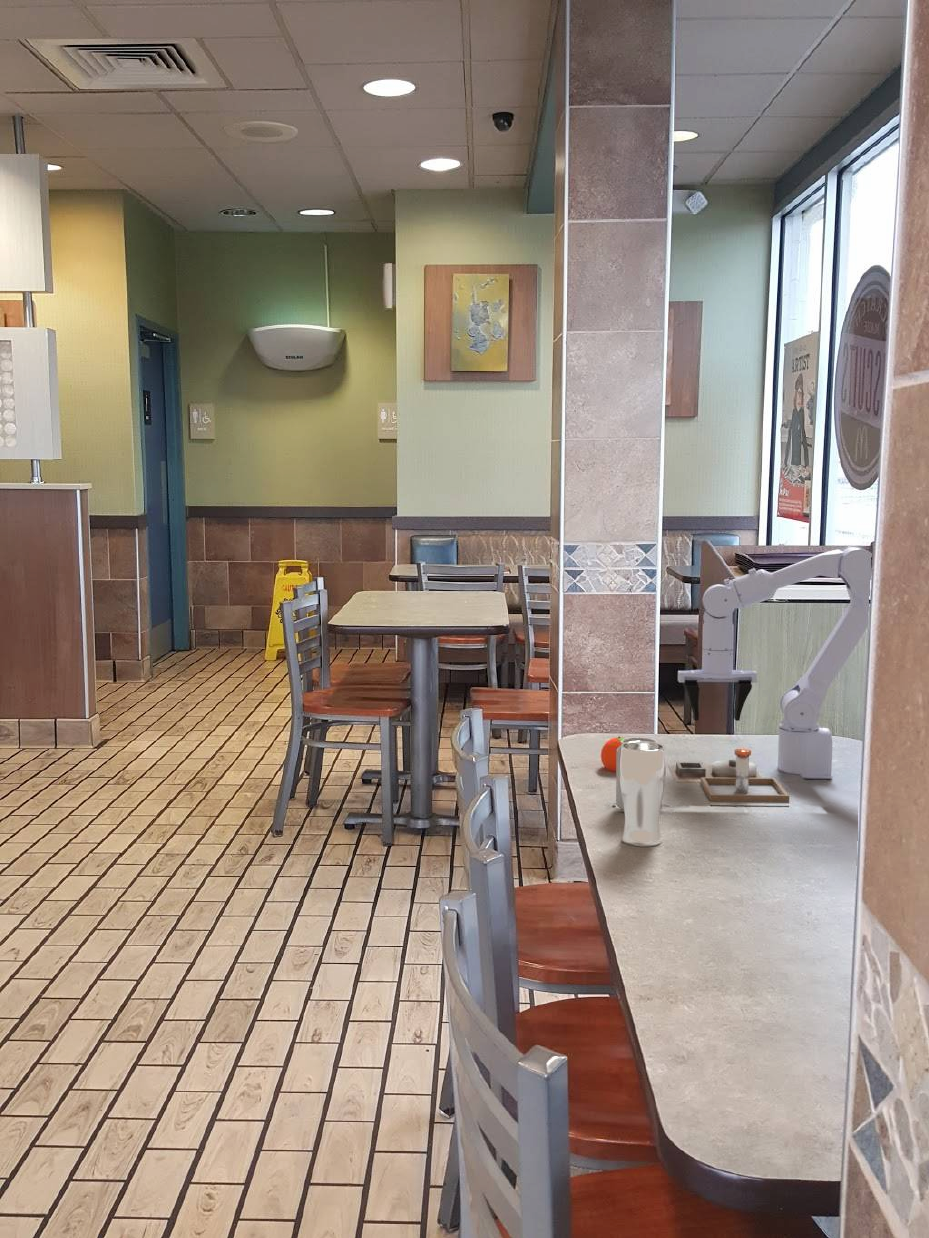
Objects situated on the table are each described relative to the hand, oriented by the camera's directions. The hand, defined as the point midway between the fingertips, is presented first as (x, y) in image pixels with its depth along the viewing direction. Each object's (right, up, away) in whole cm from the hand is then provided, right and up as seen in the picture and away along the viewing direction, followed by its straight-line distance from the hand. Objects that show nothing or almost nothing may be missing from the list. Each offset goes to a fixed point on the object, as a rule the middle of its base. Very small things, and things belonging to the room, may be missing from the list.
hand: (716, 719), depth 213 cm
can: (-18, -13, -23) cm, 33 cm away
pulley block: (-1, -11, -5) cm, 12 cm away
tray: (+1, -12, -17) cm, 21 cm away
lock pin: (+1, -12, -17) cm, 20 cm away
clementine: (-18, -10, -1) cm, 21 cm away
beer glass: (-20, -15, -39) cm, 47 cm away
